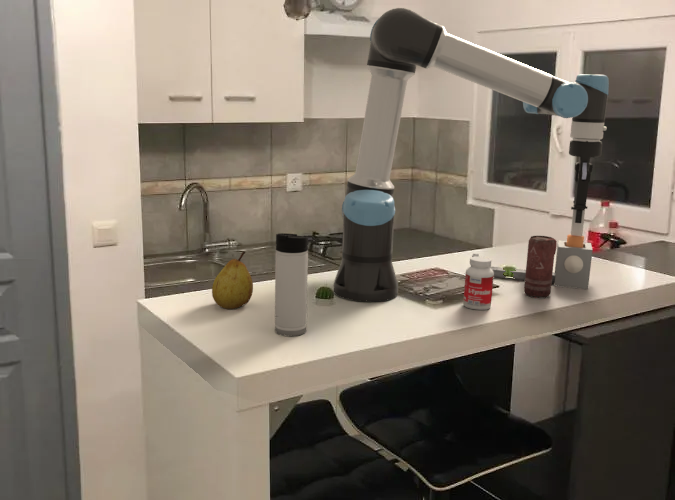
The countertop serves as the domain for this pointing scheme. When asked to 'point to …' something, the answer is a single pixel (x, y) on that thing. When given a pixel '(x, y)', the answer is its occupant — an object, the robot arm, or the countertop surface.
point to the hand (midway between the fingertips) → (576, 234)
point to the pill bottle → (478, 284)
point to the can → (539, 266)
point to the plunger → (575, 241)
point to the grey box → (573, 265)
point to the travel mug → (291, 284)
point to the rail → (518, 274)
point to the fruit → (233, 285)
